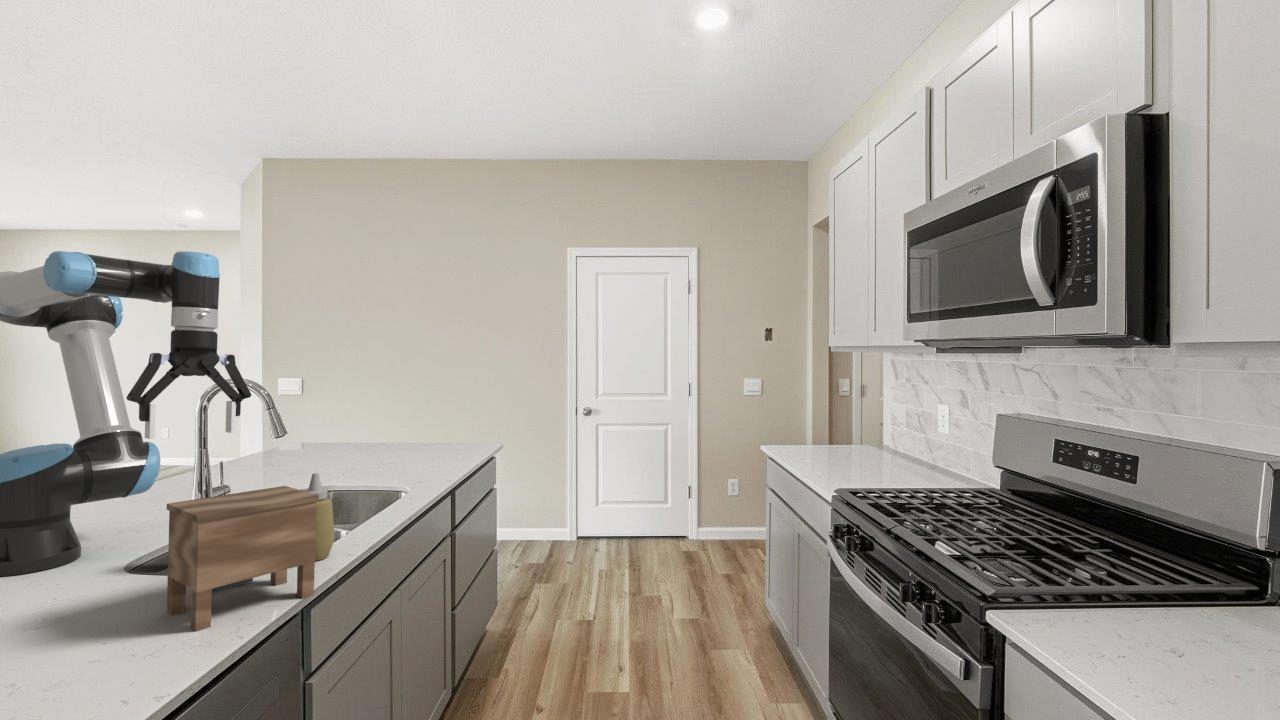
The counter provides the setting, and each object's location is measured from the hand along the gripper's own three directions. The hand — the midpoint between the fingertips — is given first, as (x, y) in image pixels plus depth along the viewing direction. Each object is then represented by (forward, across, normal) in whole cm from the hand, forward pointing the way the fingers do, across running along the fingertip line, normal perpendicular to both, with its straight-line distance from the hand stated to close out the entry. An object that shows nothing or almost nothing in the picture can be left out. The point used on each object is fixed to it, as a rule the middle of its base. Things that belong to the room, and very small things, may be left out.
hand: (191, 435), depth 118 cm
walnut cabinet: (+27, -1, -27) cm, 38 cm away
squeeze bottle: (+27, +18, -13) cm, 35 cm away
